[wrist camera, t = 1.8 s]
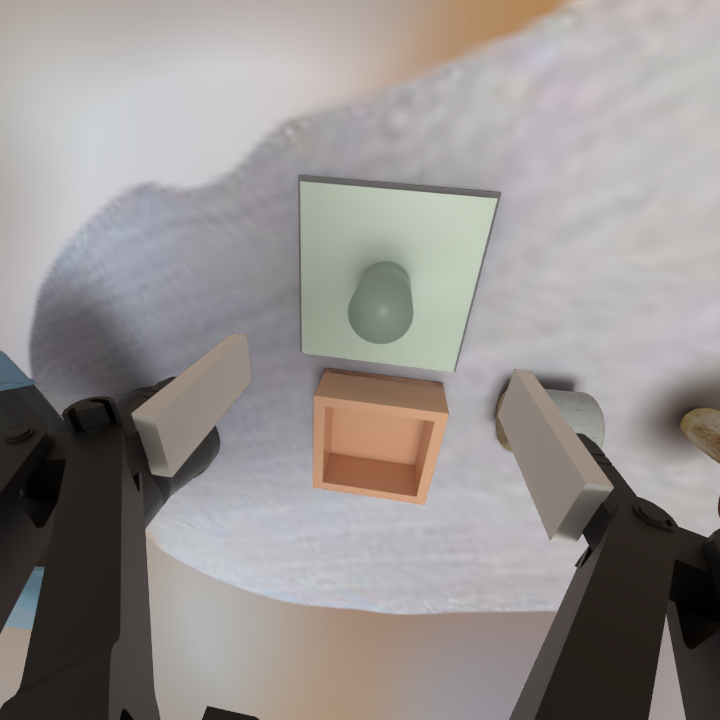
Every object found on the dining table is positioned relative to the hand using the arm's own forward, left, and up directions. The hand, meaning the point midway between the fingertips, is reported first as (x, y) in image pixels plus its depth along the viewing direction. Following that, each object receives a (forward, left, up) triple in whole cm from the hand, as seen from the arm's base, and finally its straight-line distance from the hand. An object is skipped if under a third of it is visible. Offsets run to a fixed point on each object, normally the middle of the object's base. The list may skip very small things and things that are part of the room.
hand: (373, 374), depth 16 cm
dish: (+1, -18, -19) cm, 26 cm away
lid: (0, 0, -19) cm, 19 cm away
